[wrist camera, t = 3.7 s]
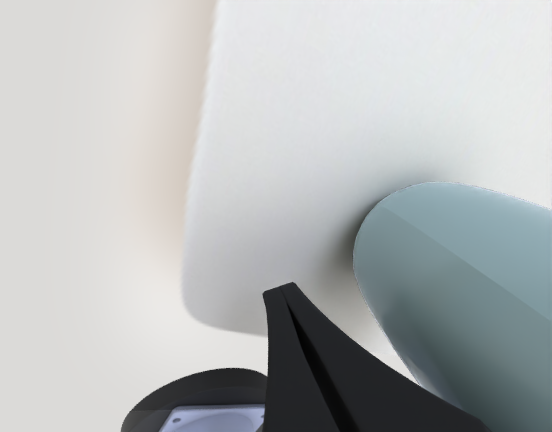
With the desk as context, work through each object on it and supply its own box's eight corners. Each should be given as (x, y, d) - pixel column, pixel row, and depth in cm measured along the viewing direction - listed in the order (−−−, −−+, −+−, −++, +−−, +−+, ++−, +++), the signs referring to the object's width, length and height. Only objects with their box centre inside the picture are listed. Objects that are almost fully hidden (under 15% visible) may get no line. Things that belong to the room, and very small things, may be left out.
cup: (341, 165, 12) (733, 421, 3) (474, 154, 14) (918, 294, 5) (321, 293, 16) (482, 557, 7) (427, 269, 18) (646, 453, 9)
